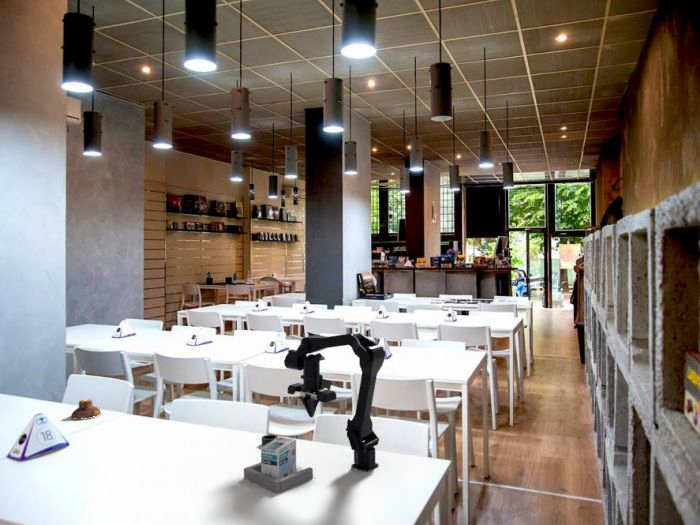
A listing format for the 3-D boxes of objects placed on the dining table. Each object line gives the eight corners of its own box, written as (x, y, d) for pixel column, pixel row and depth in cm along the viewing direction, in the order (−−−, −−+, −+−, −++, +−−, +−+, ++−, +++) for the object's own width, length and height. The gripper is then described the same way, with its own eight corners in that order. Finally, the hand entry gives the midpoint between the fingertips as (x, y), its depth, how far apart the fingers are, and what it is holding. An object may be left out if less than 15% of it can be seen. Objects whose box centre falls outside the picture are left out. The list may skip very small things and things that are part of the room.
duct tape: (285, 441, 197) (285, 433, 197) (272, 451, 188) (272, 442, 188) (267, 439, 200) (267, 431, 200) (253, 448, 191) (253, 440, 191)
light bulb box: (279, 486, 158) (279, 450, 158) (260, 482, 161) (259, 447, 161) (297, 473, 168) (296, 438, 168) (278, 469, 171) (278, 436, 171)
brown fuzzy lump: (64, 420, 227) (64, 403, 227) (83, 412, 239) (83, 395, 239) (89, 421, 225) (89, 404, 225) (107, 413, 237) (106, 396, 237)
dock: (312, 478, 164) (312, 468, 164) (277, 493, 154) (277, 482, 154) (279, 464, 175) (279, 455, 175) (244, 478, 165) (243, 468, 165)
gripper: (347, 372, 185) (346, 417, 186) (308, 364, 197) (308, 406, 198) (325, 377, 177) (324, 424, 177) (286, 369, 189) (286, 413, 189)
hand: (311, 416), depth 185 cm, fingers closed
